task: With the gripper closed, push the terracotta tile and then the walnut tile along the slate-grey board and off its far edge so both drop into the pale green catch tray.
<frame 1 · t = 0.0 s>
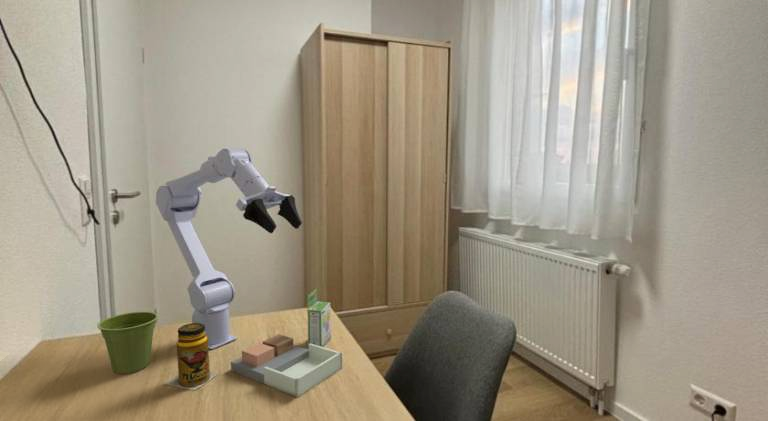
hand: (286, 227, 91), 32 cm above the table, tool tilted 50°, fingers open, 7 cm apart
plant pot: (132, 367, 95), on the table
ink box: (320, 343, 108), on the table
slate board: (272, 364, 96), on the table
terracotta tile: (258, 359, 94), point 2 cm above the table, touching slate board
catch tray: (304, 375, 91), on the table
condiment: (192, 380, 89), on the table
walnut tile: (278, 349, 99), point 2 cm above the table, touching slate board
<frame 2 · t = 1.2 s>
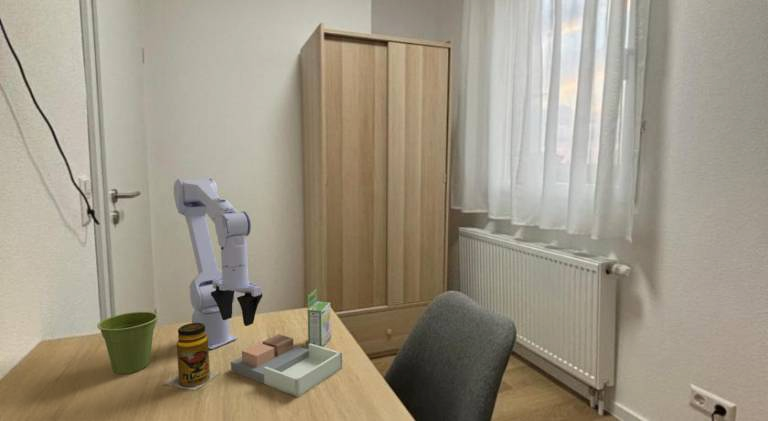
hand: (237, 321, 97), 10 cm above the table, tool pointing down, fingers open, 7 cm apart
nothing on the table moved.
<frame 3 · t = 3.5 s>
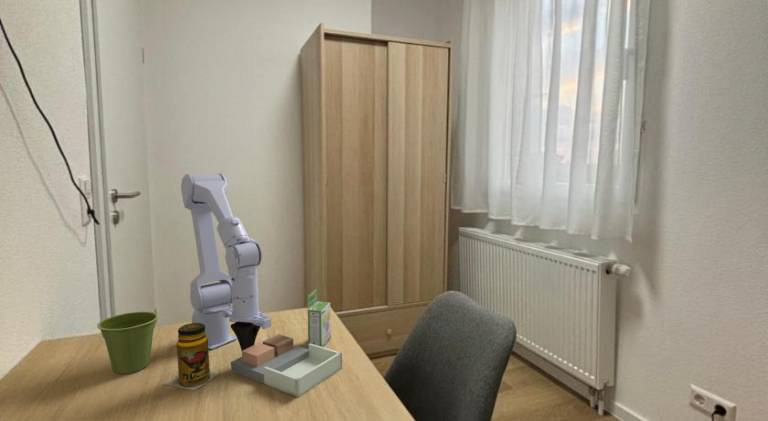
hand: (247, 352, 96), 3 cm above the table, tool pointing down, fingers closed
terracotta tile: (258, 359, 94), point 2 cm above the table, touching gripper, slate board
everything else where it was.
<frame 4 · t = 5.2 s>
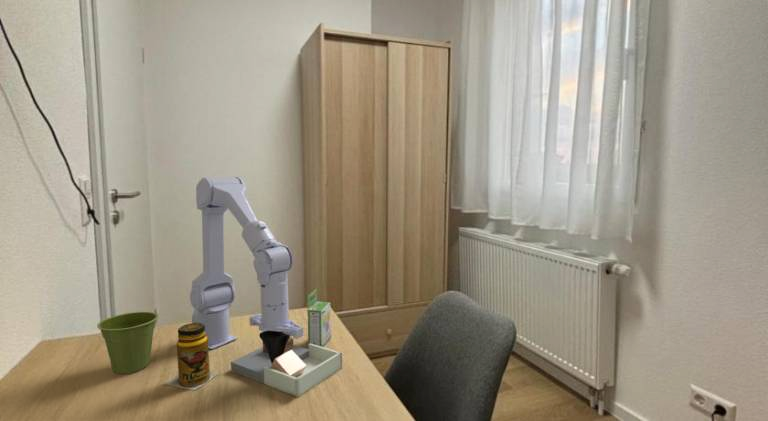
hand: (276, 362, 91), 3 cm above the table, tool pointing down, fingers closed
terracotta tile: (286, 370, 89), point 2 cm above the table, tilted 32°, touching gripper
everything else where it was.
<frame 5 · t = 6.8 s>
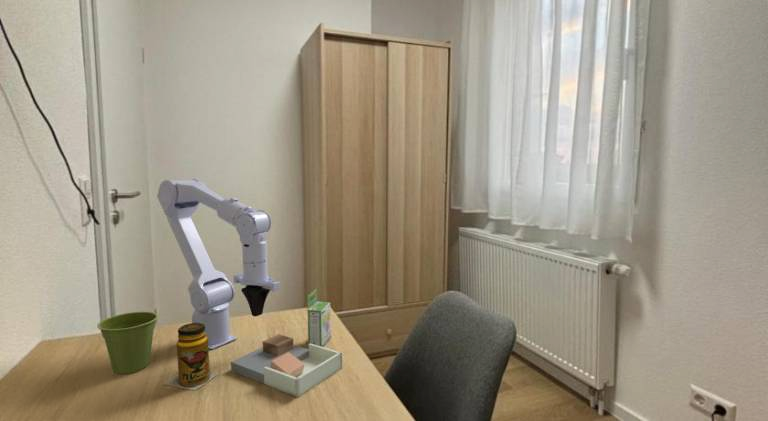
hand: (257, 314, 102), 9 cm above the table, tool pointing down, fingers closed
terracotta tile: (286, 372, 90), point 1 cm above the table, tilted 19°, touching catch tray, slate board
everything else where it was.
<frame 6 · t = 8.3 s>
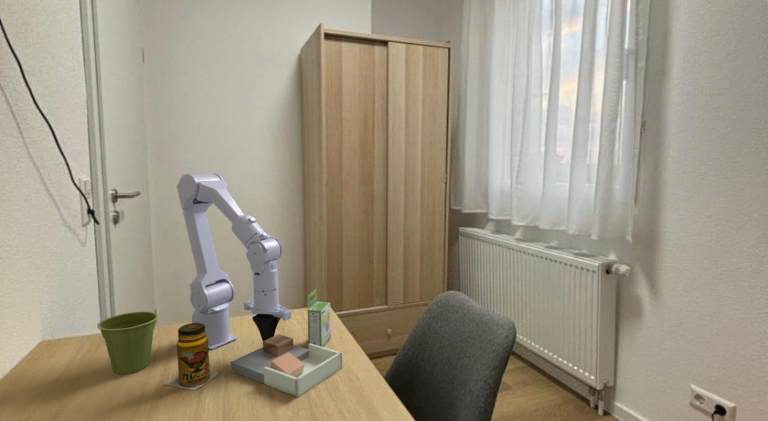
hand: (268, 342, 101), 3 cm above the table, tool pointing down, fingers closed
walnut tile: (278, 349, 99), point 2 cm above the table, touching gripper
everything else where it was.
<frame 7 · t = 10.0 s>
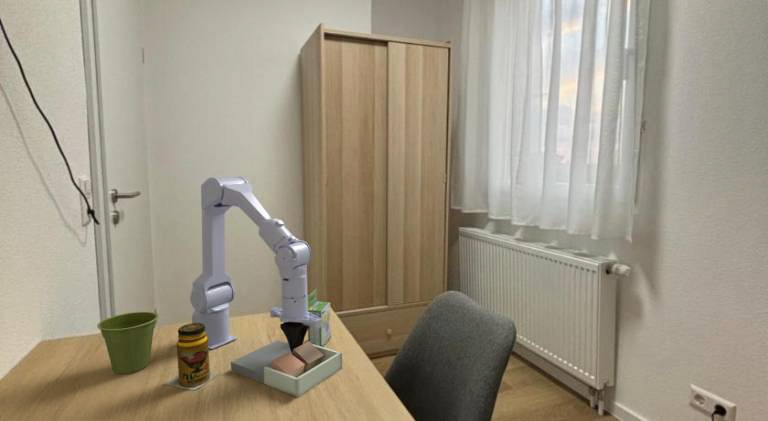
hand: (296, 352, 96), 3 cm above the table, tool pointing down, fingers closed
walnut tile: (305, 360, 94), point 2 cm above the table, tilted 27°, touching catch tray, gripper
everything else where it was.
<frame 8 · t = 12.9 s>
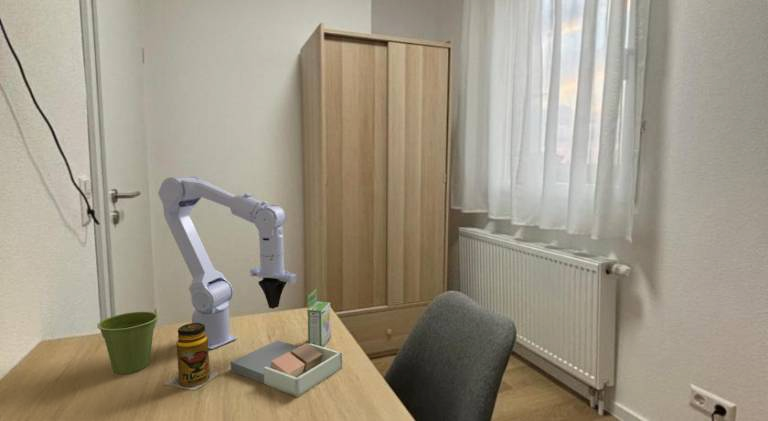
hand: (273, 307, 104), 10 cm above the table, tool pointing down, fingers closed
walnut tile: (305, 361, 94), point 1 cm above the table, tilted 18°, touching catch tray, slate board
everything else where it was.
at the end: terracotta tile inside the target area on the catch tray (3.9 cm from its centre), point 1.3 cm above the catch tray's base; walnut tile inside the target area on the catch tray (4.0 cm from its centre), point 1.3 cm above the catch tray's base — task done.
